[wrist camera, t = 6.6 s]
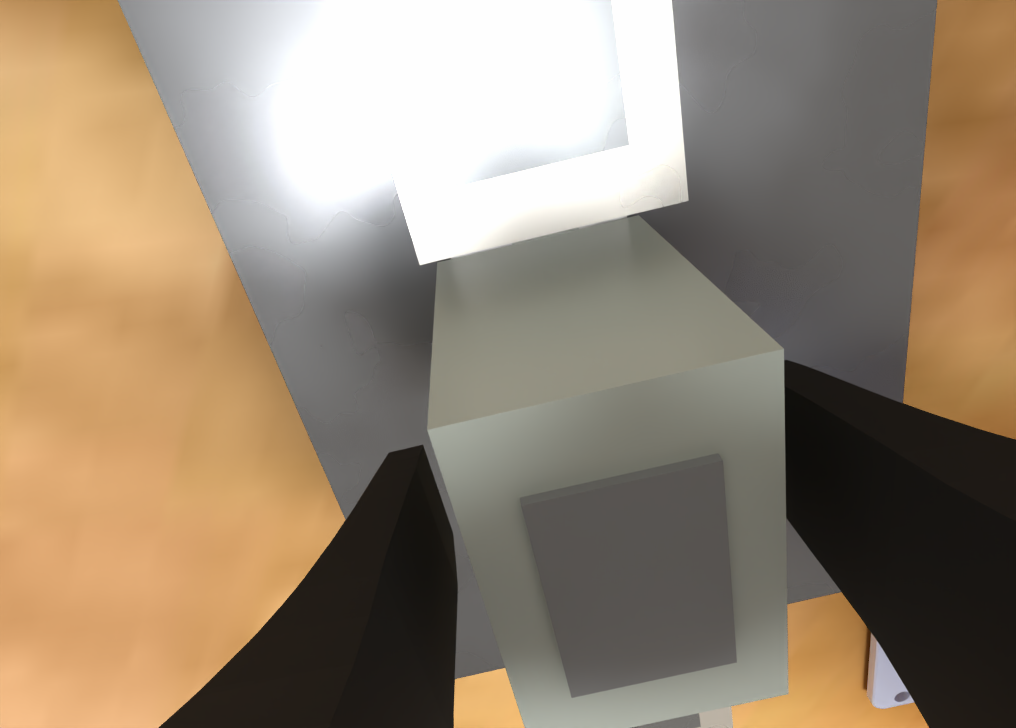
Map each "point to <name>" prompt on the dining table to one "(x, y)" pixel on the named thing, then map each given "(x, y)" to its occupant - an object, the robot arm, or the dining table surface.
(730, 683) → the block
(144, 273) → the dining table surface
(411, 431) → the panel
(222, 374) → the dining table surface
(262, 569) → the dining table surface
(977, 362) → the dining table surface
